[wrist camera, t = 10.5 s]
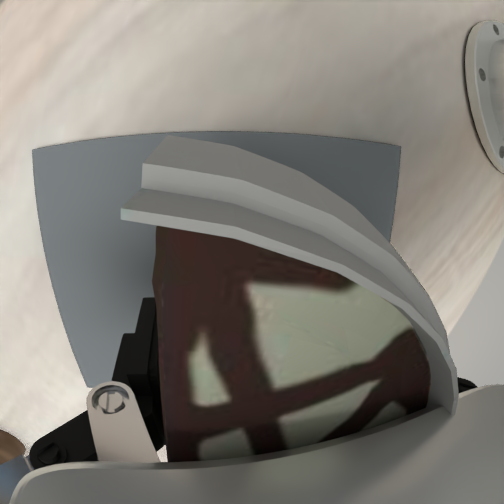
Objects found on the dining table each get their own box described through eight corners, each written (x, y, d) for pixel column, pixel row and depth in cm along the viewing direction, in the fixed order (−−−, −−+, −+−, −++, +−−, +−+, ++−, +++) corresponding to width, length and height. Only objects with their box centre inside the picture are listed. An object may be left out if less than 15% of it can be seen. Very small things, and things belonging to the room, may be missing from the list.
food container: (291, 386, 16) (344, 542, 7) (181, 384, 15) (180, 559, 6) (344, 161, 12) (567, 233, 3) (196, 139, 11) (124, 130, 2)
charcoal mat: (396, 145, 14) (401, 146, 14) (358, 359, 19) (360, 362, 19) (35, 149, 11) (32, 149, 10) (88, 383, 16) (87, 387, 15)
